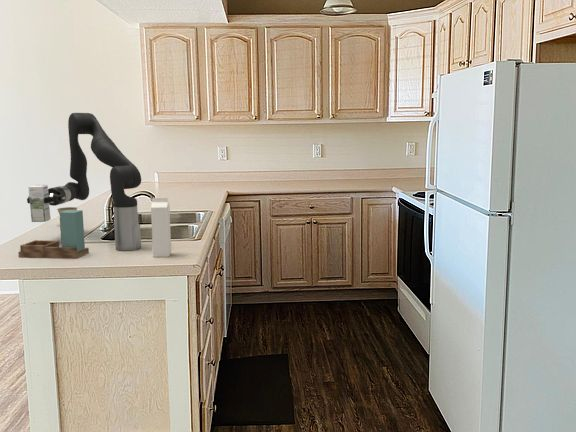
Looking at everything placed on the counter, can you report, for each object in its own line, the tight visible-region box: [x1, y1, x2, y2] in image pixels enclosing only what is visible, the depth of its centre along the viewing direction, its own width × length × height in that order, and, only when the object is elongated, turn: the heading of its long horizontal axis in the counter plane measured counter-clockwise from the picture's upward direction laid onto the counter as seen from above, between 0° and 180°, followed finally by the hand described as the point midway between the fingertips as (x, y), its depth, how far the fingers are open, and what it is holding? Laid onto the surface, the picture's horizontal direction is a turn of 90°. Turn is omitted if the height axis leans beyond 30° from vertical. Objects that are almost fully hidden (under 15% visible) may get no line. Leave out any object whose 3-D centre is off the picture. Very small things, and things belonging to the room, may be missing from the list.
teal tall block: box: [59, 209, 86, 252], centre depth 218 cm, size 7×6×15 cm
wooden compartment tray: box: [18, 239, 90, 260], centre depth 220 cm, size 23×10×4 cm, turn 83°
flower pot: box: [56, 206, 78, 216], centre depth 285 cm, size 9×9×9 cm
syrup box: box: [28, 184, 51, 223], centre depth 231 cm, size 6×6×14 cm
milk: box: [150, 197, 172, 258], centre depth 218 cm, size 6×6×22 cm
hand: (36, 200), depth 228 cm, fingers closed on syrup box, 6 cm apart
